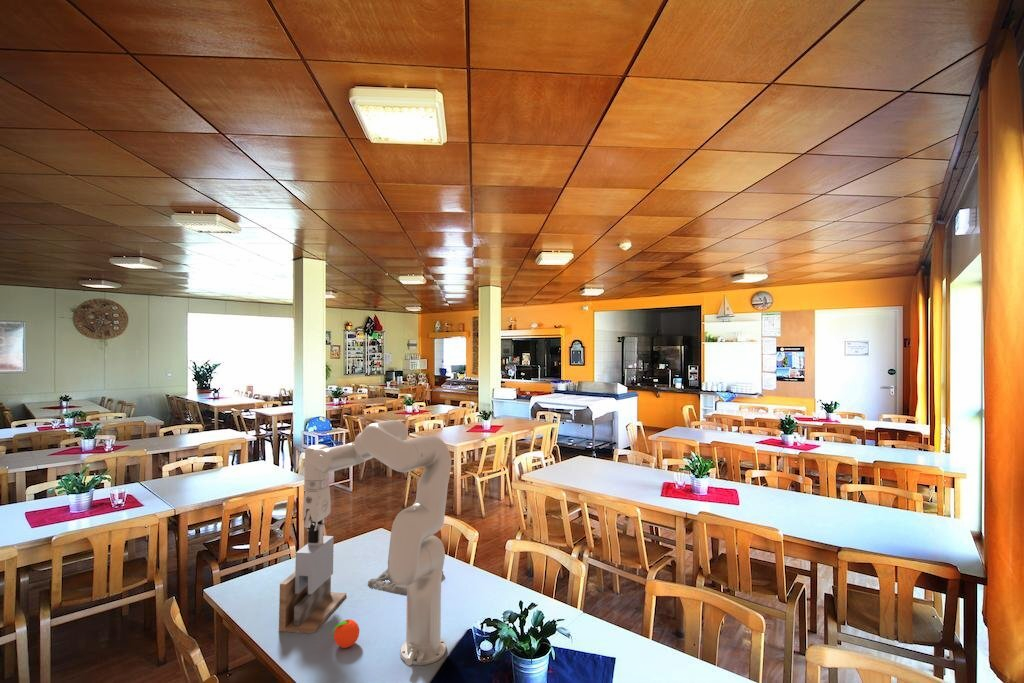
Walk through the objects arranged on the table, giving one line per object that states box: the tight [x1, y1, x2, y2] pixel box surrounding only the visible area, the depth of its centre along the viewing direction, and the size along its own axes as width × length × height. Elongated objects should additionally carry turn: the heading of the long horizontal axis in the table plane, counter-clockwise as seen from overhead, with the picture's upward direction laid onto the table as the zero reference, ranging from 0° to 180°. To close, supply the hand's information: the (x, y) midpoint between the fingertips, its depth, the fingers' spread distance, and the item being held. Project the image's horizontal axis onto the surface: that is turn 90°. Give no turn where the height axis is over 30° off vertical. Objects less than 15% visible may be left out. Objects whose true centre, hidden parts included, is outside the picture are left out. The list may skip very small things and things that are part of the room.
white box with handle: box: [294, 523, 335, 594], centre depth 152 cm, size 14×5×18 cm, turn 175°
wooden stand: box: [278, 571, 347, 634], centre depth 152 cm, size 22×11×14 cm, turn 175°
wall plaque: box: [367, 568, 445, 596], centre depth 173 cm, size 24×19×4 cm
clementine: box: [330, 618, 360, 649], centre depth 134 cm, size 8×7×7 cm
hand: (315, 540), depth 152 cm, fingers closed on white box with handle, 2 cm apart
